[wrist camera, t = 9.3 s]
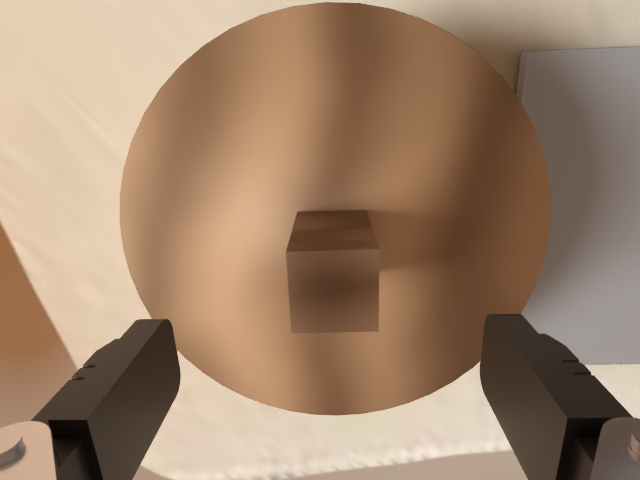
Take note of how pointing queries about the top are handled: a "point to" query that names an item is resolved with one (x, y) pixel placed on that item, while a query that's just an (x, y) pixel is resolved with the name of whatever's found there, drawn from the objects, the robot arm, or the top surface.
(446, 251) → the lid
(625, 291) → the mat
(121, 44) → the top surface
